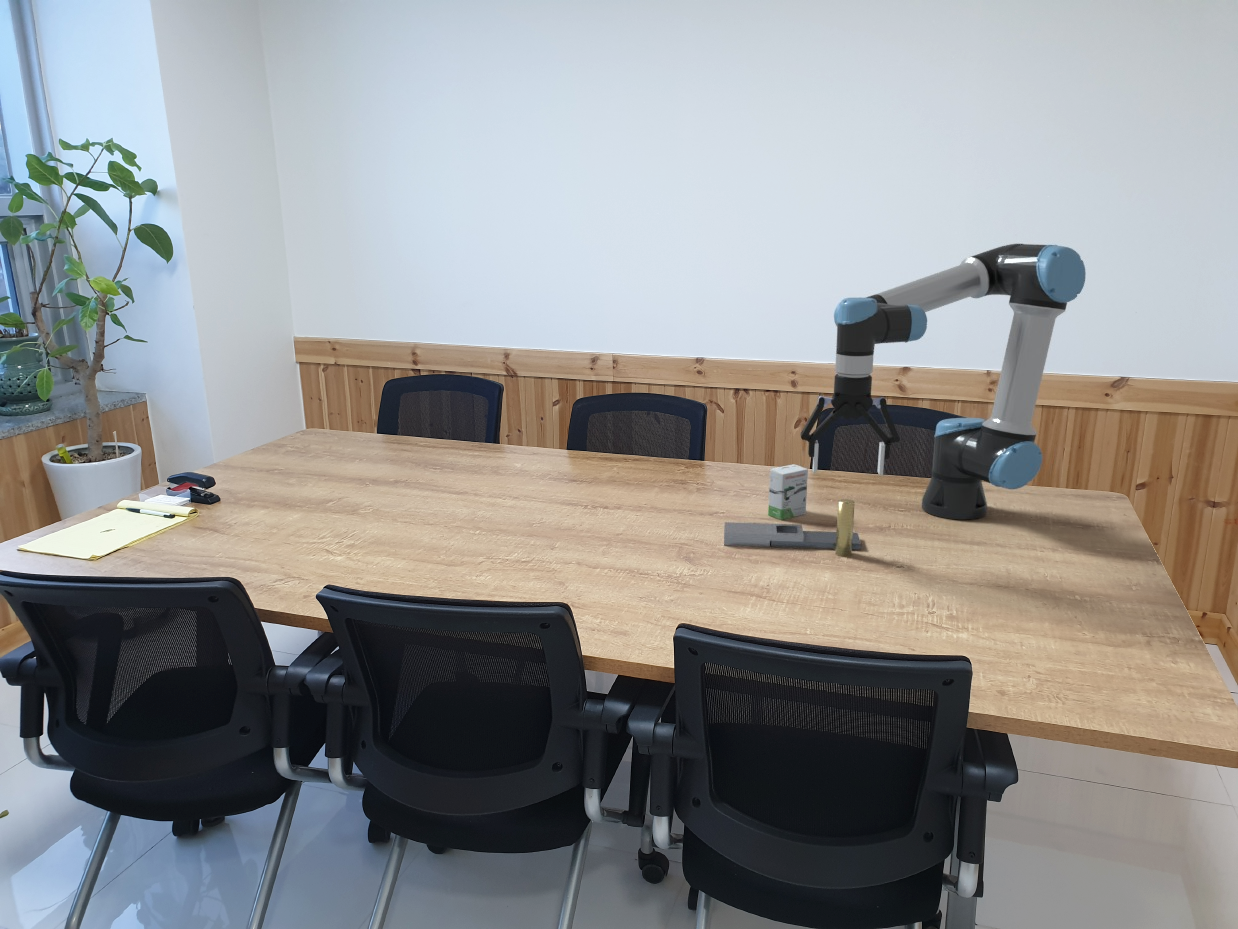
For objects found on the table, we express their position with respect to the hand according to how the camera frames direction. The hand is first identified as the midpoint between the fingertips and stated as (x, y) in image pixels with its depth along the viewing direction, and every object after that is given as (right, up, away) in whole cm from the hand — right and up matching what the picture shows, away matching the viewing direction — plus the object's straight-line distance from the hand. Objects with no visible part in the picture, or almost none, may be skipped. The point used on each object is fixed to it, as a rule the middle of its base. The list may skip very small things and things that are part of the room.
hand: (847, 472), depth 193 cm
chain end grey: (-16, -16, +13) cm, 26 cm away
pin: (0, -18, +5) cm, 19 cm away
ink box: (-7, -11, +30) cm, 33 cm away
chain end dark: (-5, -16, +11) cm, 20 cm away
